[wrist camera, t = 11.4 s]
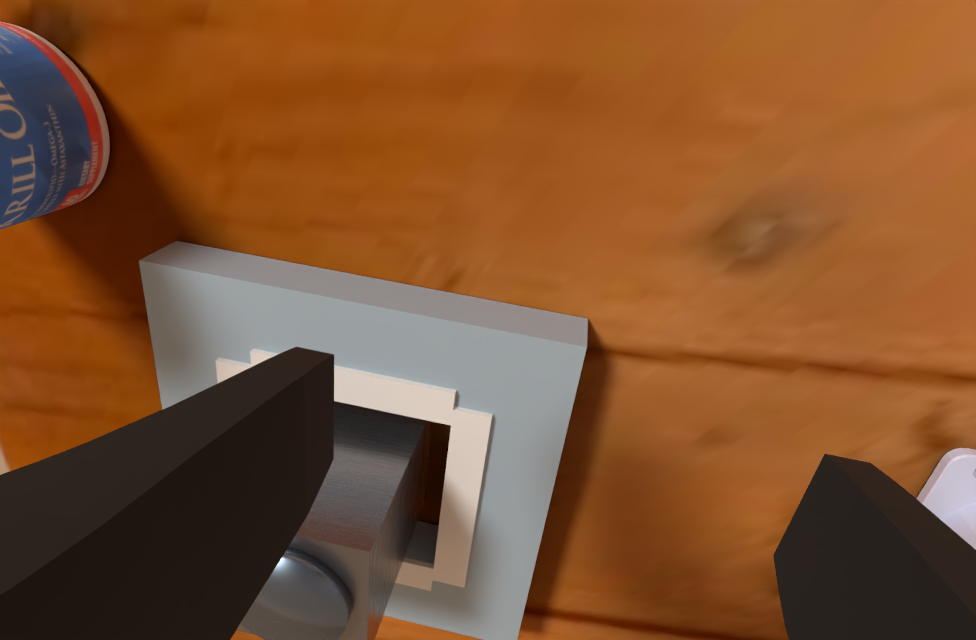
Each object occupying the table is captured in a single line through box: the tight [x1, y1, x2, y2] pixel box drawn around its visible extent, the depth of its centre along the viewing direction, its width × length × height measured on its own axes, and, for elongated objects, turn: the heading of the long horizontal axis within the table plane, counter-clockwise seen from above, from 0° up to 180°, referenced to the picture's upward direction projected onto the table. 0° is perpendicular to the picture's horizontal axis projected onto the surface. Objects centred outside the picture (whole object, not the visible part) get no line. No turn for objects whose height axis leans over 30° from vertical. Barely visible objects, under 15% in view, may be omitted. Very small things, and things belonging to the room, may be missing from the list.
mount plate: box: [139, 241, 588, 640], centre depth 21 cm, size 14×14×2 cm
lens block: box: [237, 401, 432, 640], centre depth 19 cm, size 4×4×7 cm
